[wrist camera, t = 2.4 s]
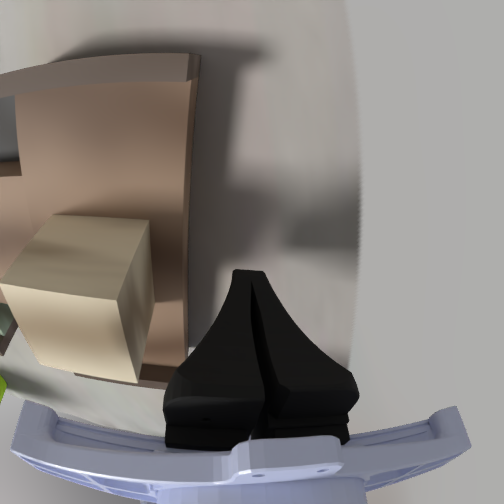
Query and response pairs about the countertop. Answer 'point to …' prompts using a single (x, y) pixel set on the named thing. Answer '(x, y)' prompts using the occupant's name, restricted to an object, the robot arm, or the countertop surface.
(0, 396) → the soap dispenser
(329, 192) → the countertop surface
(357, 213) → the countertop surface
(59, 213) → the track
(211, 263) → the countertop surface
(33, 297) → the maple block
